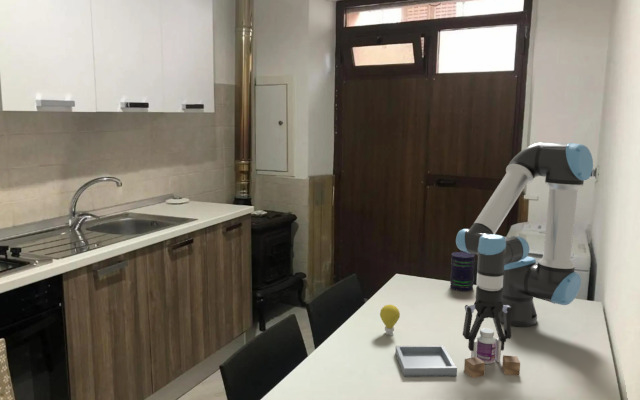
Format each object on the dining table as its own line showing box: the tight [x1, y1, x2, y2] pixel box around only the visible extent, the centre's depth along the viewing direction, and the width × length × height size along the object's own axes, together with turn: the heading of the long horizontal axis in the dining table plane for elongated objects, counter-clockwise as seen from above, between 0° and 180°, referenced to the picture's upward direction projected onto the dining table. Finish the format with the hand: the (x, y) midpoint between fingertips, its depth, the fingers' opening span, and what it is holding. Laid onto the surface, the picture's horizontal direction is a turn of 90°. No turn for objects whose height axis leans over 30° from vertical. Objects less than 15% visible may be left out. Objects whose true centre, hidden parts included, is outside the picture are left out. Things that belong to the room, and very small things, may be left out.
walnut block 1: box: [463, 356, 486, 379], centre depth 149 cm, size 4×4×4 cm
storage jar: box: [449, 251, 476, 292], centre depth 225 cm, size 10×10×15 cm
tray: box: [395, 344, 458, 378], centre depth 155 cm, size 15×15×2 cm
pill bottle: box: [476, 327, 496, 365], centre depth 157 cm, size 5×5×10 cm
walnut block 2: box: [501, 354, 521, 376], centre depth 150 cm, size 4×4×4 cm
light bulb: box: [379, 304, 401, 335], centre depth 177 cm, size 7×7×10 cm
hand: (485, 360), depth 157 cm, fingers open, 7 cm apart
